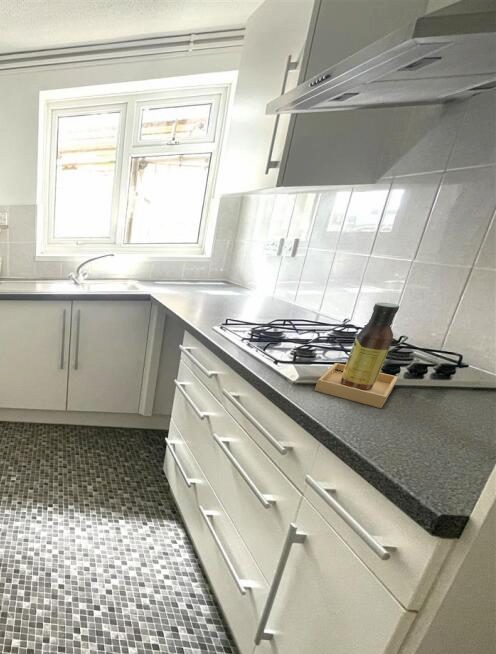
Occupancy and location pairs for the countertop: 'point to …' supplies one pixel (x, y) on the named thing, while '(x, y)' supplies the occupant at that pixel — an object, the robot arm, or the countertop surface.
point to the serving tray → (373, 397)
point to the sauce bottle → (370, 348)
